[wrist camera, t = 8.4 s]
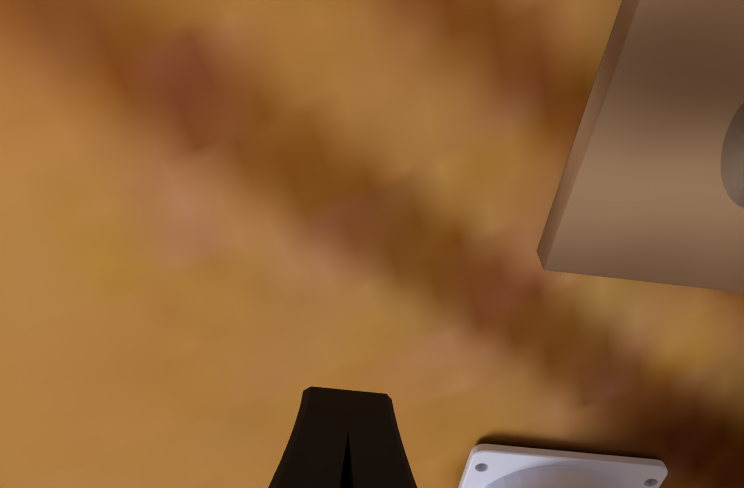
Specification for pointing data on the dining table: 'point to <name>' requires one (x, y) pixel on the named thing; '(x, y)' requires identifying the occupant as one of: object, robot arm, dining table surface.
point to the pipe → (734, 158)
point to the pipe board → (656, 153)
